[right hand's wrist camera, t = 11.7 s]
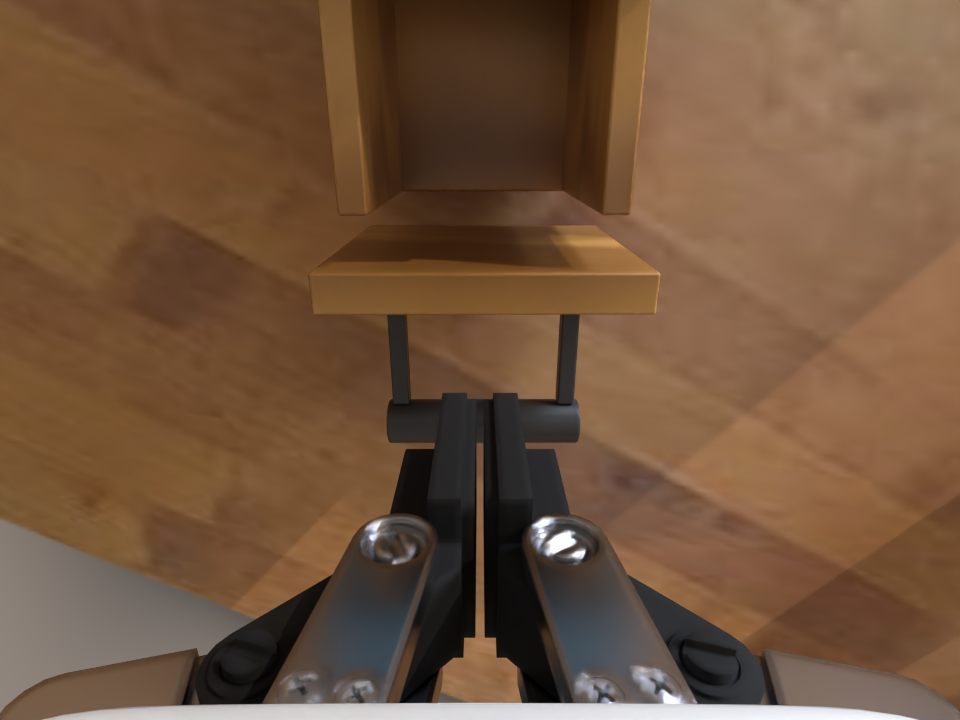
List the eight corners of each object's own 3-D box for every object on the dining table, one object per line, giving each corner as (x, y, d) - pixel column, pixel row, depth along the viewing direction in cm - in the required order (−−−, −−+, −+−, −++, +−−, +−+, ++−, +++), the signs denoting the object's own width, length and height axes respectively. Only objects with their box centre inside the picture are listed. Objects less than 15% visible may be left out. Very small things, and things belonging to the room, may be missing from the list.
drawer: (584, 379, 26) (634, 494, 18) (381, 379, 26) (333, 494, 18) (632, -262, 18) (772, -632, 9) (333, -262, 18) (199, -629, 9)
